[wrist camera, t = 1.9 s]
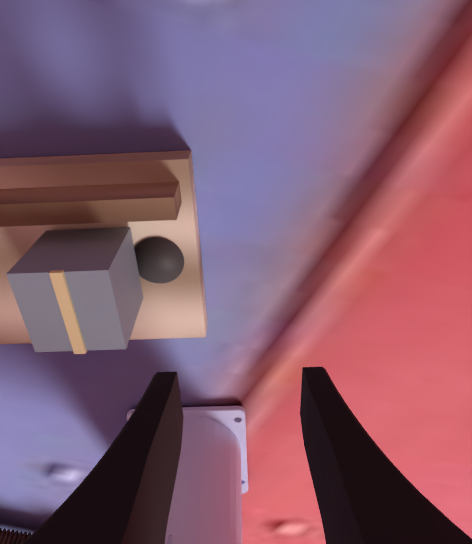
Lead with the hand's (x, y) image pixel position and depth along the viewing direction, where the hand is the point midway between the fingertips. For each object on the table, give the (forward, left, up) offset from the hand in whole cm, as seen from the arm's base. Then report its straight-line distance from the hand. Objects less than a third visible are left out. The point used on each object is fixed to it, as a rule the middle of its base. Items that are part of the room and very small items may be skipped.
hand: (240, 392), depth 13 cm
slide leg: (0, +7, -9) cm, 11 cm away
